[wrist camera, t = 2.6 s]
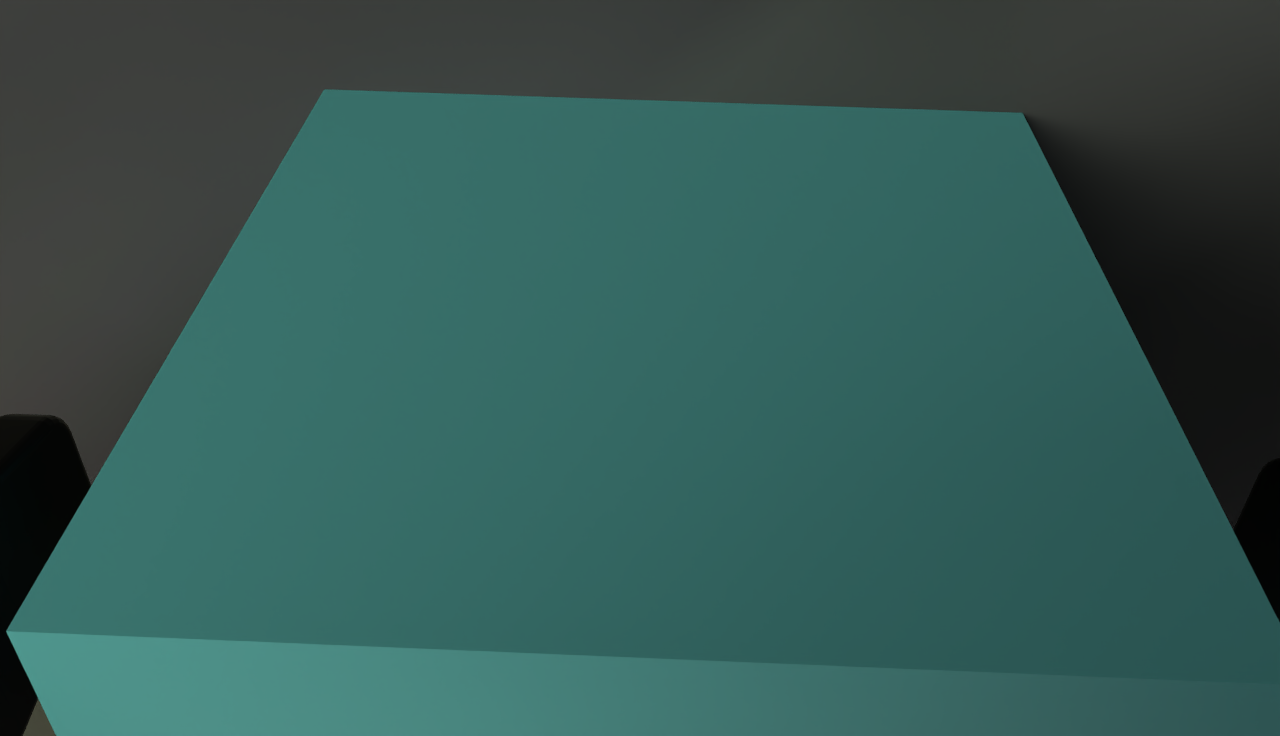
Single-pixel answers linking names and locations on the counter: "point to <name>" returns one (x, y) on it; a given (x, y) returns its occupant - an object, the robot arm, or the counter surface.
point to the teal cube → (653, 450)
